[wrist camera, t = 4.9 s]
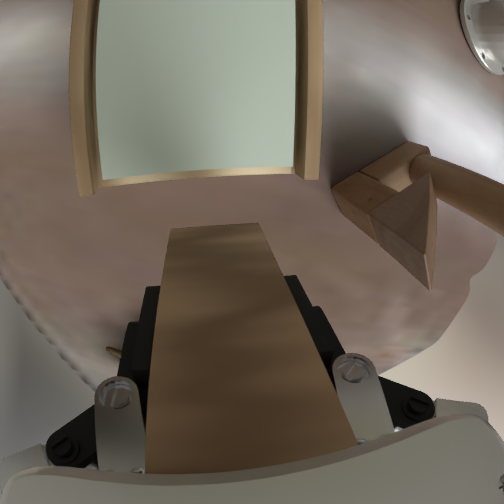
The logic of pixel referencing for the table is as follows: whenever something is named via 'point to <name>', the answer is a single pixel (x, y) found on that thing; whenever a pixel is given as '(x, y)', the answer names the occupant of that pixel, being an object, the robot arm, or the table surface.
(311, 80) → the wooden box
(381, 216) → the wooden block
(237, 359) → the wooden square column
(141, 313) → the robot arm
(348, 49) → the table surface
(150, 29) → the lid
